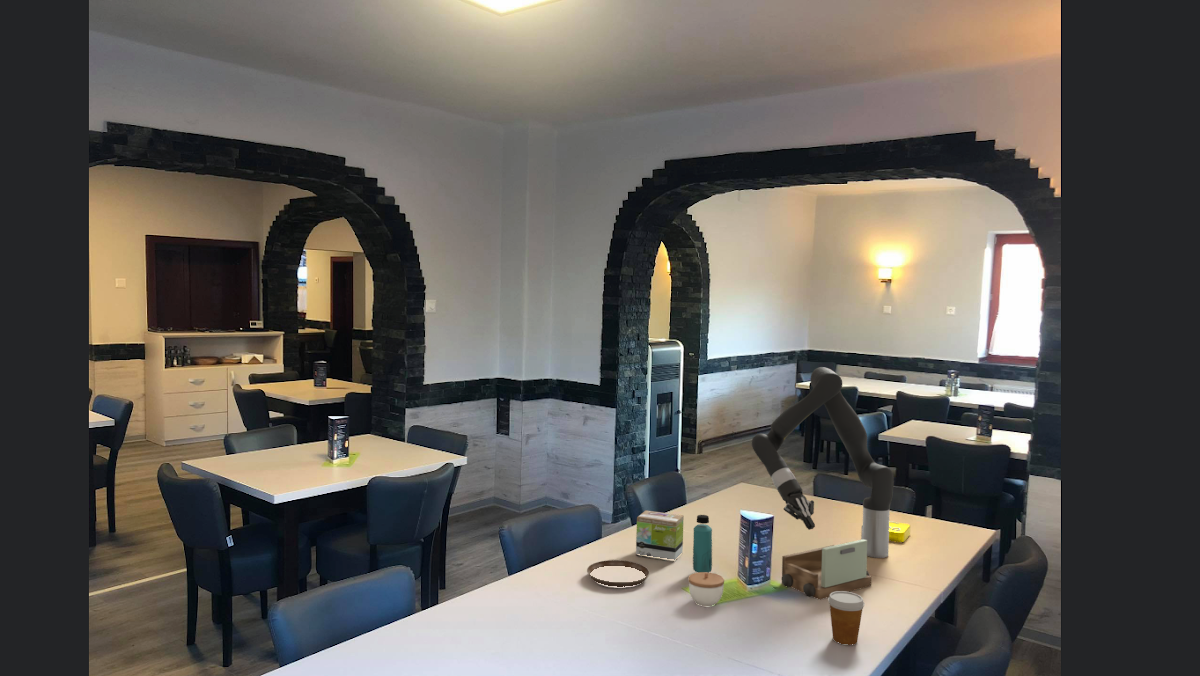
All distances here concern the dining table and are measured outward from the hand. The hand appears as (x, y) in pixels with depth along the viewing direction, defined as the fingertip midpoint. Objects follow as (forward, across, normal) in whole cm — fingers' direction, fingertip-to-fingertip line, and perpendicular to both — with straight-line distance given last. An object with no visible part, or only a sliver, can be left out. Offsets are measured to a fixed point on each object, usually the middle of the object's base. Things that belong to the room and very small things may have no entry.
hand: (812, 528), depth 253 cm
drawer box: (+17, 0, +7) cm, 18 cm away
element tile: (-2, +64, +26) cm, 69 cm away
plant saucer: (-9, -57, +34) cm, 67 cm away
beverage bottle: (-2, -30, +26) cm, 40 cm away
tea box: (-18, -31, +43) cm, 56 cm away
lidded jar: (+12, -44, +12) cm, 48 cm away
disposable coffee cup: (+40, -28, -15) cm, 51 cm away
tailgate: (+20, 0, -1) cm, 20 cm away
